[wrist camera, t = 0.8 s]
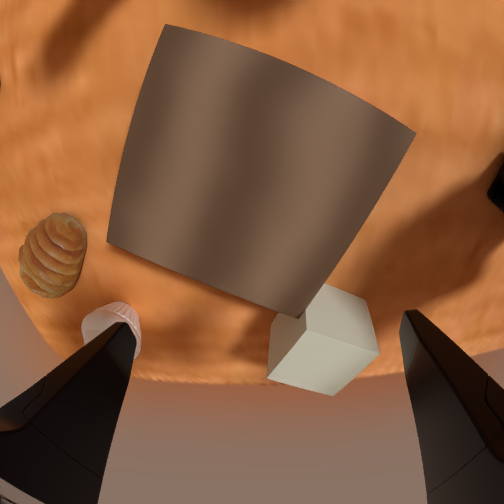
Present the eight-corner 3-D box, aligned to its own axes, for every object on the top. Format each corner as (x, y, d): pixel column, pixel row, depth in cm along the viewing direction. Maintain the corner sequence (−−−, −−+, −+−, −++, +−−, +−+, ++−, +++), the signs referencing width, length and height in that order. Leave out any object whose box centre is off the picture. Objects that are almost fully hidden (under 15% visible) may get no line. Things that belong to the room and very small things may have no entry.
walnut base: (392, 122, 17) (416, 133, 13) (297, 284, 24) (298, 319, 21) (188, 33, 15) (165, 24, 12) (130, 216, 22) (106, 241, 19)
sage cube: (365, 299, 24) (379, 353, 19) (328, 343, 27) (333, 396, 22) (303, 273, 24) (306, 329, 18) (271, 323, 27) (266, 378, 22)
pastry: (54, 189, 22) (27, 208, 19) (107, 241, 24) (85, 266, 21) (27, 250, 26) (6, 270, 23) (70, 291, 28) (52, 315, 25)
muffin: (159, 337, 29) (136, 393, 23) (109, 331, 30) (83, 380, 24) (142, 290, 26) (110, 347, 20) (89, 286, 27) (54, 336, 21)
